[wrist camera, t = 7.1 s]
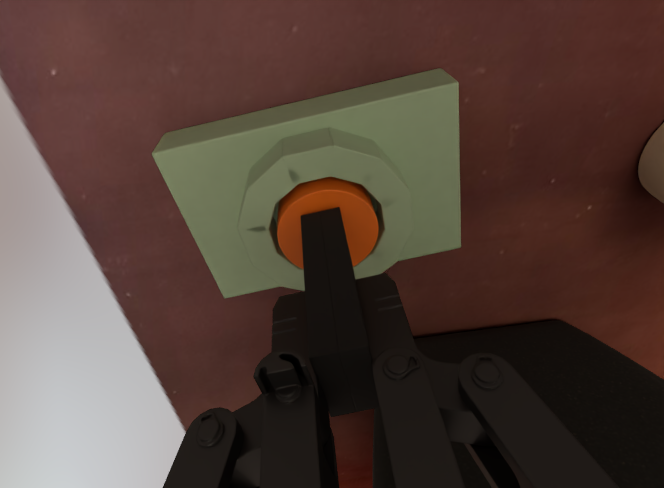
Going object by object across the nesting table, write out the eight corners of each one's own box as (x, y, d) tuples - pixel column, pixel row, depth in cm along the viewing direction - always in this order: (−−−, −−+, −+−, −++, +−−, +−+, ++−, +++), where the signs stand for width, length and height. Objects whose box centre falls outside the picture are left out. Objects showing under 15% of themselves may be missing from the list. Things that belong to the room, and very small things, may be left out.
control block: (441, 67, 17) (477, 95, 14) (447, 223, 22) (475, 271, 19) (163, 132, 18) (136, 174, 14) (228, 271, 22) (219, 326, 19)
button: (363, 158, 16) (371, 179, 15) (377, 238, 19) (384, 262, 17) (265, 181, 16) (264, 203, 15) (291, 257, 19) (292, 282, 17)
